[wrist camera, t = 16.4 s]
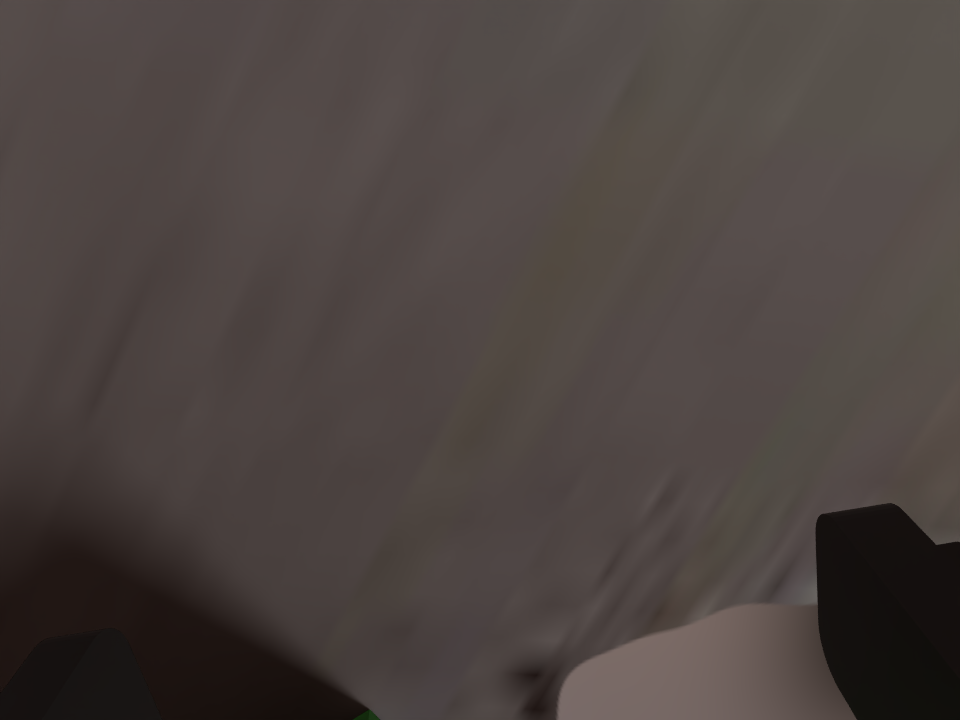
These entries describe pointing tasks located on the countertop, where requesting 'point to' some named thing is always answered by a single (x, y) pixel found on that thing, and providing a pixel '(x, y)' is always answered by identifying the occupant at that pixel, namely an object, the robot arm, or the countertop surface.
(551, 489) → the countertop surface
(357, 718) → the cereal box
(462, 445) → the countertop surface
